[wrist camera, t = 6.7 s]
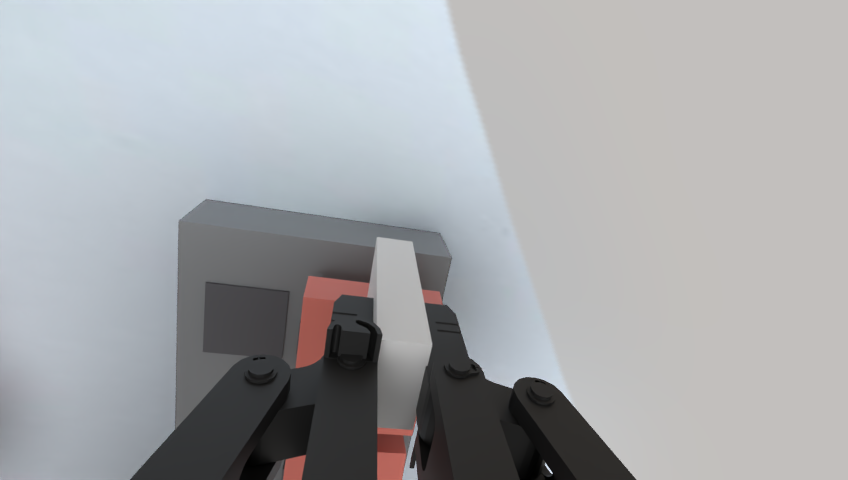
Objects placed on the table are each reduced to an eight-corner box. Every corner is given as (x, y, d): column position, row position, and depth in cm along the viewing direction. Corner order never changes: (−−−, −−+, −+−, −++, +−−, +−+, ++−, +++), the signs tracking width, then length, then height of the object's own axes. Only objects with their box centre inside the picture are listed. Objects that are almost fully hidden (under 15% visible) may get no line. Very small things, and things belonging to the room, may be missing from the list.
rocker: (294, 401, 22) (288, 429, 20) (308, 275, 19) (303, 298, 17) (409, 409, 22) (412, 437, 21) (439, 291, 20) (445, 314, 18)
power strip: (191, 605, 32) (163, 688, 28) (205, 199, 22) (168, 229, 18) (360, 604, 34) (360, 681, 30) (440, 233, 24) (456, 267, 20)
